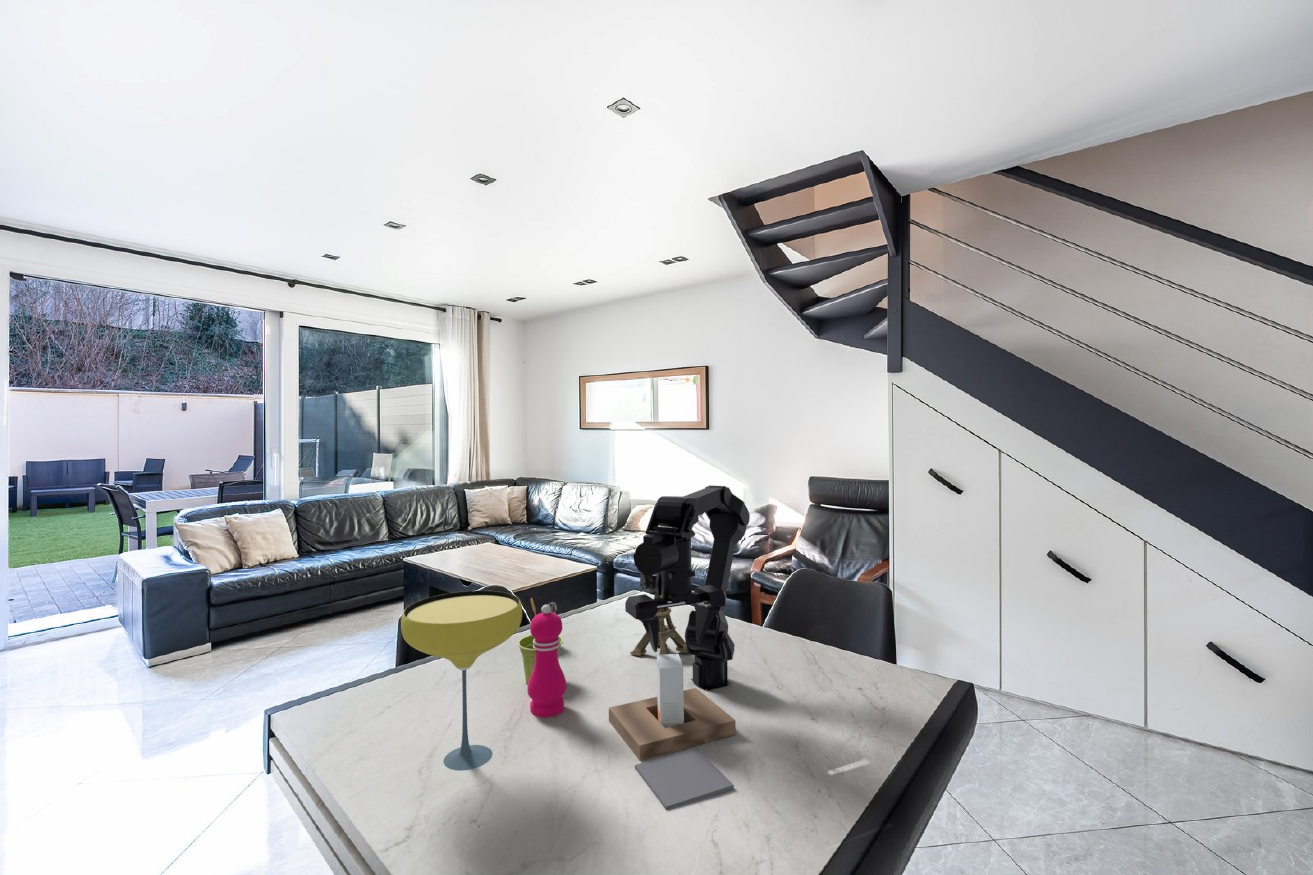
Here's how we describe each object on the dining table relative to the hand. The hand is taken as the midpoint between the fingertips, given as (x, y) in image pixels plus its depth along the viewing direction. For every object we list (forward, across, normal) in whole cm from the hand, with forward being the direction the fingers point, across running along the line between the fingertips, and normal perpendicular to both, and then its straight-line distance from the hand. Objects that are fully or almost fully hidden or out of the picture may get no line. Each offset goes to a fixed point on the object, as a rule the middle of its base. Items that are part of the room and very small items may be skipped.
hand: (677, 647), depth 106 cm
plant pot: (+12, +20, -24) cm, 34 cm away
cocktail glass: (+12, +38, 0) cm, 40 cm away
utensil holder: (+12, +14, -43) cm, 47 cm away
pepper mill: (+12, +22, -11) cm, 27 cm away
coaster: (+12, +9, +19) cm, 24 cm away
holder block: (+12, +4, +5) cm, 14 cm away
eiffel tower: (+12, -10, -28) cm, 32 cm away
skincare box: (+12, +4, +5) cm, 14 cm away
